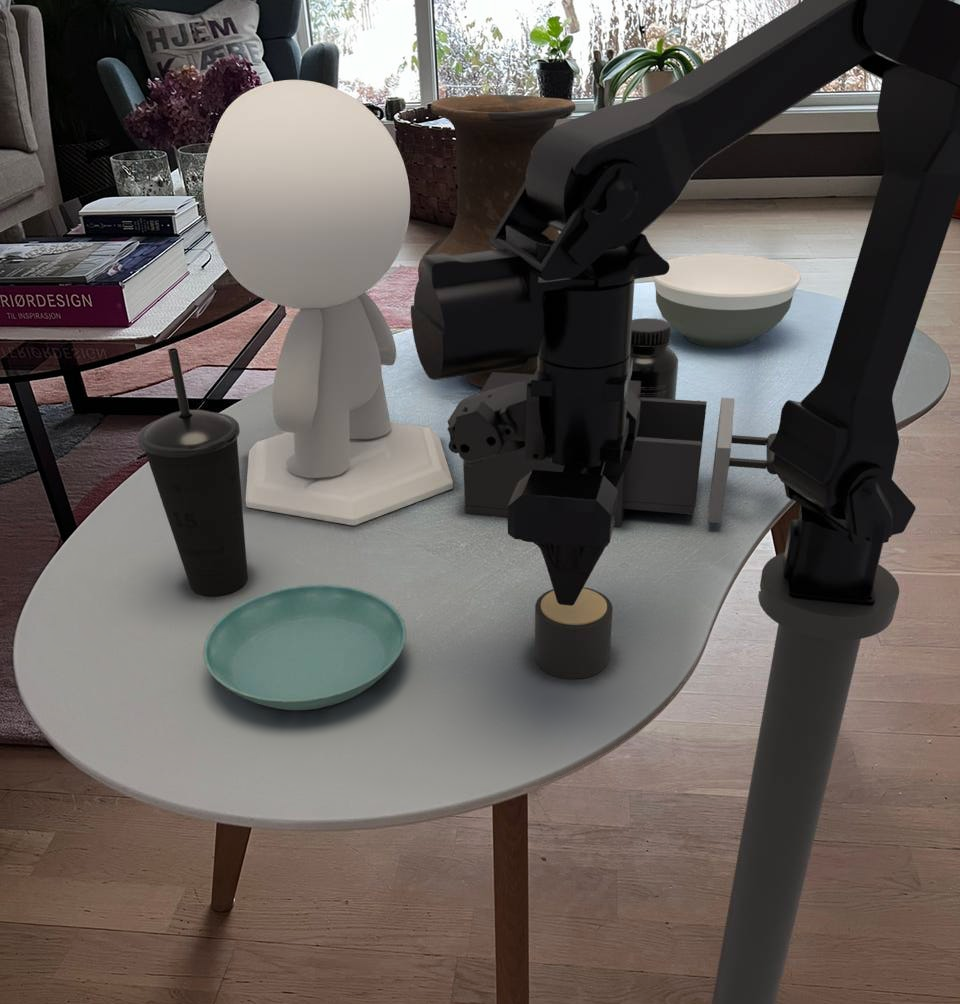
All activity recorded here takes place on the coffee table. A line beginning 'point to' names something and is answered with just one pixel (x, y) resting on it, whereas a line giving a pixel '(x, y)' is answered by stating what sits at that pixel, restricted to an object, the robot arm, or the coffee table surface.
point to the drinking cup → (200, 490)
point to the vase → (492, 171)
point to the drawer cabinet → (513, 467)
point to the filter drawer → (682, 457)
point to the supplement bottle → (653, 358)
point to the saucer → (305, 646)
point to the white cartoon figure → (321, 296)
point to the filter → (573, 634)
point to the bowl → (725, 297)
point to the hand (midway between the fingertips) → (576, 569)
